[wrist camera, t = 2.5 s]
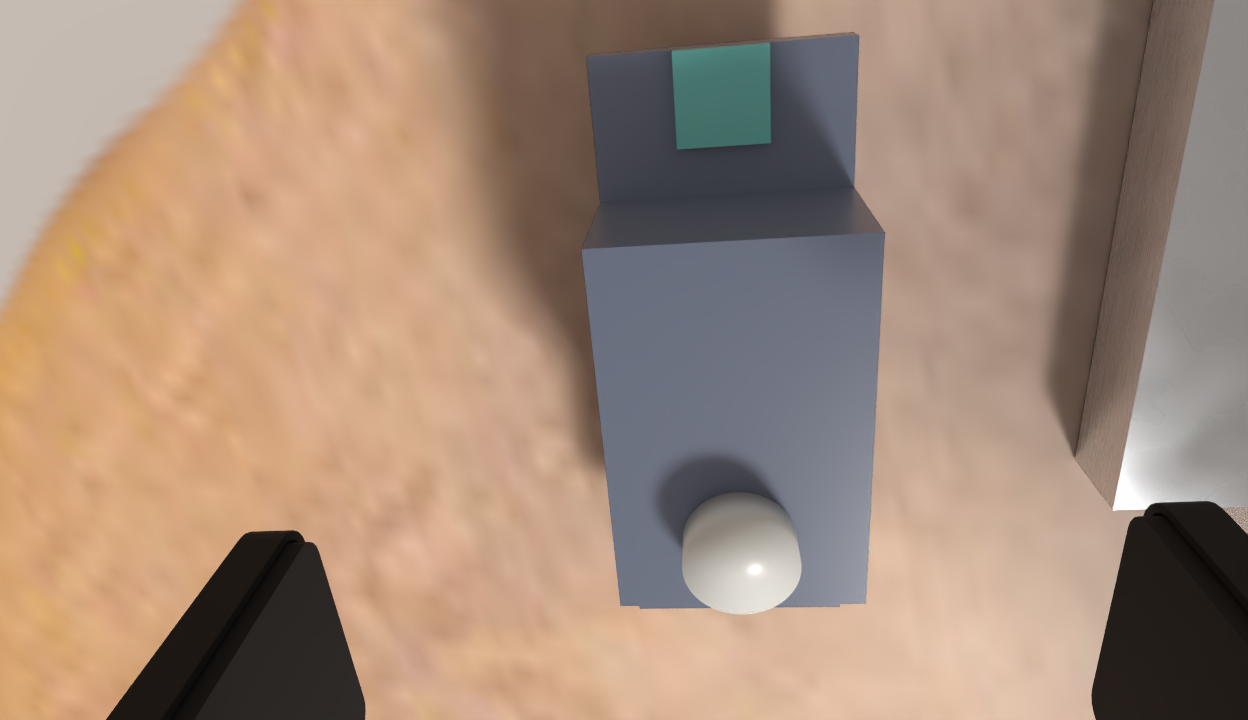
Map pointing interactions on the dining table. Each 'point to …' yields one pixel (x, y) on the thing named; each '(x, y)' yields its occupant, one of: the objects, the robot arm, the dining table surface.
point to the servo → (734, 322)
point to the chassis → (1178, 276)
